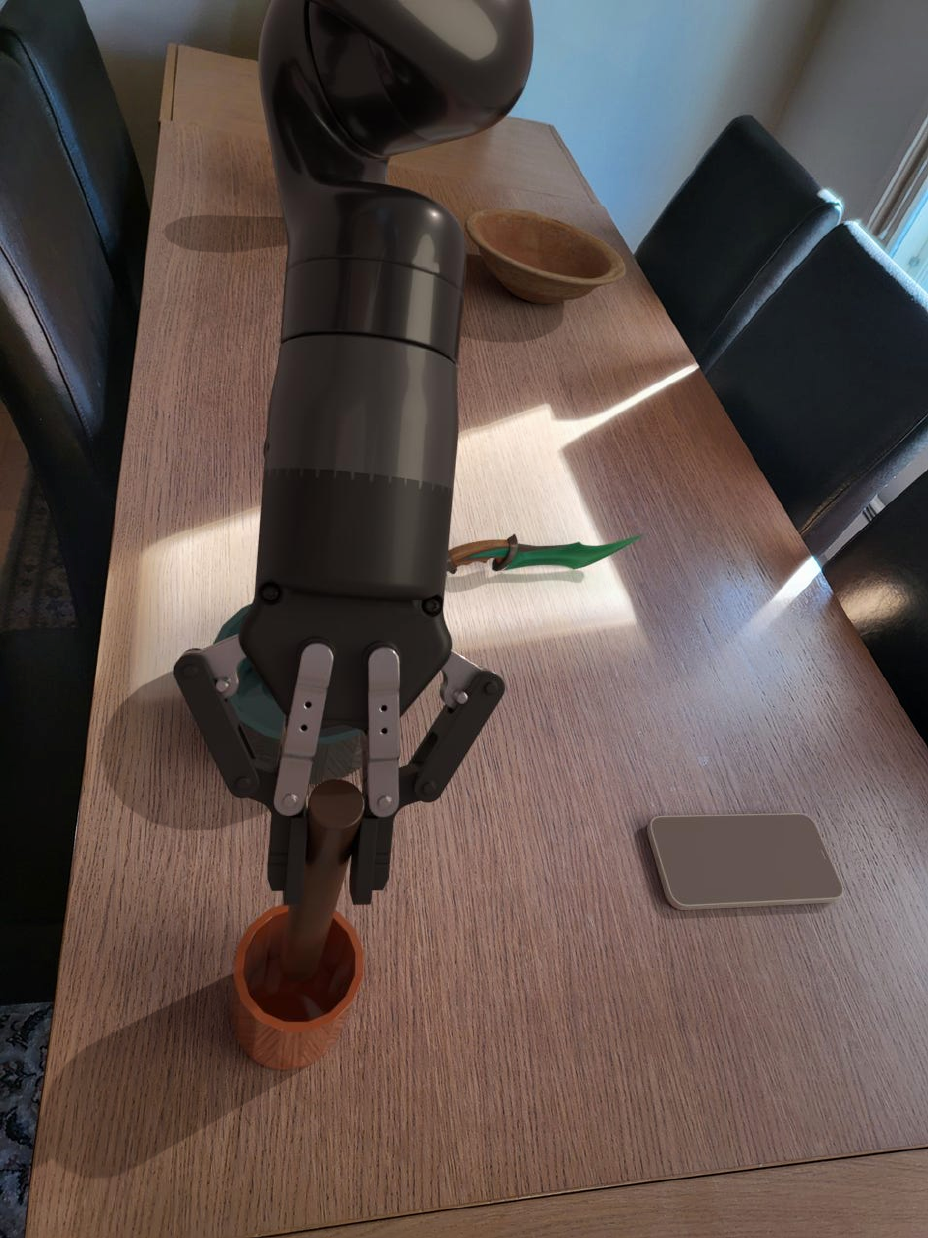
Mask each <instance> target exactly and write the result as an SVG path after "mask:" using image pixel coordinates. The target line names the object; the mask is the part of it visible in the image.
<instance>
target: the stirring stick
mask: <svg viewBox="0 0 928 1238" xmlns="http://www.w3.org/2000/svg"><path fill="white" fill-rule="evenodd" d="M364 809H365V802H364V798H363V795H362V791H361V790H360V789H359V788H358V787H357V786H356V785H355V784H354V783H352V782H350V781H348V780H345V779H341V778H335V779H331V780H327V781H324V782H322V783H321V782H320V783H318V784H317V785H316V786H315V787H314V788H313V790H312V791H311V792H310V795H309V796H308V802H307V812H306V815H307V817H308V830H307V843H306V855H305V868H304V880H303V893H302V903H301V905H297V906H289V907H288V913H287V918H286V923H285V929H284V934H283V939H282V945H281V950H280V955H279V961H278V965H279V970H280V972H281V974H282V975H283V976H284V977H285V978H286V979H287V980H289V981H291V982H296V983H299V982H304V981H307V980H309V979H310V978H311V977H312V976H313V975H314V974H315V973H316V971H317V969H318V966H319V963H320V959H321V956H322V952H323V949H324V946H325V942H326V939H327V935H328V932H329V929H330V925H331V922H332V918H333V915H334V912H335V910H336V907H337V904H338V902H339V898H340V894H341V891H342V887H343V885H344V881H345V877H346V874H347V870H348V867H349V864H350V861H351V854H352V850H353V847H354V843H355V840H356V837H357V833H358V830H359V826H360V823H361V820H362V816H363V813H364Z"/></svg>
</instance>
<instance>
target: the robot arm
mask: <svg viewBox="0 0 928 1238" xmlns="http://www.w3.org/2000/svg"><path fill="white" fill-rule="evenodd" d="M534 27H535V26H534V19H533V12H532V5H531V1H530V0H271V1H270V3H269V6H268V8H267V11H266V15H265V18H264V20H263V24H262V28H261V33H260V37H259V46H258V55H257V56H258V57H257V59H258V65H257V66H258V80H259V81H258V82H259V90H260V96H261V103H262V107H263V108H262V109H263V112H264V113H263V114H264V118H265V124H266V131H267V135H268V140H269V141H268V142H269V147H270V152H271V157H272V164H273V170H274V176H275V177H274V178H275V183H276V189H277V195H278V199H279V204H280V207H281V212H282V219H283V224H284V228H285V235H286V242H287V243H286V244H287V251H286V252H287V253H286V260H285V272H284V283H283V284H284V285H283V297H282V298H283V299H282V311H281V325H280V338H279V344H280V346H279V347H278V355H277V357H278V358H277V363H276V369H275V374H274V379H273V382H272V386H271V391H270V396H269V402H268V410H267V417H266V419H267V420H266V432H265V433H266V434H265V439H264V442H263V449H262V452H263V453H262V455H263V459H264V460H263V473H262V475H263V476H262V486H261V500H260V501H261V502H260V514H259V528H258V541H257V555H256V566H255V567H256V569H255V582H254V597H253V599H252V602H251V603H252V605H251V607H250V609H249V610H248V612H247V613H246V615H245V616H244V617H243V619H242V621H241V624H240V627H239V632H238V634H237V635H234V636H232V637H230V638H227V639H225V640H223V641H220V642H218V643H216V644H213V643H212V644H211V645H209V646H207V647H204V648H198V647H192V648H188V649H186V650H185V651H184V652H183V653H182V654H181V655H180V656H179V658H178V659H177V660H176V662H175V663H174V665H173V668H172V674H173V678H174V679H175V682H176V684H177V686H178V688H179V690H180V692H181V695H182V697H183V699H184V701H185V703H186V705H187V707H188V709H189V711H190V713H191V715H192V717H193V719H194V722H195V724H196V725H197V727H198V730H199V732H200V734H201V736H202V738H203V740H204V743H205V744H206V746H207V748H208V750H209V752H210V755H211V757H212V759H213V761H214V763H215V765H216V767H217V769H218V771H219V774H220V776H221V778H222V779H223V781H224V784H225V785H226V788H227V790H228V792H229V793H230V795H232V796H233V797H235V798H237V799H250V800H253V801H255V802H258V803H260V804H262V805H264V806H265V807H266V808H267V809H268V811H269V812H270V825H269V836H268V837H269V839H268V849H267V851H268V852H267V865H266V875H267V876H266V877H267V879H266V880H267V882H268V885H269V888H270V891H271V892H282V904H283V906H297V905H301V903H302V893H303V880H304V868H305V855H306V843H307V830H308V817H307V815H306V812H307V807H308V805H307V802H306V801H307V795H308V790H309V789H308V788H309V784H310V783H309V779H310V773H311V768H312V763H313V760H314V757H315V753H316V748H317V743H318V737H319V732H320V729H325V728H329V727H334V726H338V725H347V726H350V727H353V728H356V729H360V744H361V758H362V766H361V793H362V795H363V798H364V802H365V809H364V813H363V816H362V820H361V823H360V826H359V830H358V833H357V837H356V840H355V843H354V847H353V850H352V854H351V857H350V863H349V864H350V866H349V876H348V877H349V879H348V889H349V894H350V898H351V902H352V905H353V906H371V904H372V899H373V891H384V889H385V887H386V886H387V883H388V881H389V879H390V871H391V870H390V869H391V858H392V845H393V835H394V825H395V823H394V822H395V818H396V816H397V814H398V813H399V811H400V810H401V809H403V808H404V807H406V806H408V805H413V804H415V803H417V802H423V803H425V804H426V803H427V804H428V803H429V804H430V803H433V802H436V801H437V800H438V799H440V798H441V796H442V795H443V793H444V792H445V790H446V788H447V787H448V785H449V783H450V782H451V780H452V778H453V777H454V775H456V772H457V770H458V769H459V767H460V766H461V764H462V763H463V760H465V757H466V756H467V754H468V752H469V751H470V750H471V748H472V746H473V745H474V743H475V742H476V740H477V738H478V736H479V735H480V733H481V732H482V730H483V729H484V727H485V725H486V724H487V723H488V721H489V719H490V717H491V716H492V714H493V712H494V711H495V709H496V708H497V706H498V704H499V703H500V701H501V700H502V699H503V697H504V694H505V692H506V683H505V681H504V679H503V678H502V677H501V676H500V675H499V674H497V673H496V672H494V671H493V670H491V669H489V668H487V667H483V666H481V665H477V664H475V663H474V662H472V661H470V660H469V659H468V658H466V657H464V656H462V655H461V654H460V653H458V652H456V651H455V650H453V638H452V635H451V632H450V629H449V628H448V625H447V622H446V619H445V612H444V604H445V594H446V583H447V582H446V581H447V573H448V571H447V560H448V550H450V549H449V547H450V535H451V527H452V526H451V525H452V523H451V522H452V516H453V515H452V513H453V501H454V490H455V481H456V467H457V457H458V456H457V454H458V445H459V431H460V430H459V428H460V417H459V415H460V414H459V397H458V396H459V395H458V377H459V376H458V375H459V374H458V372H459V371H458V370H459V369H458V367H459V358H460V346H461V337H462V336H461V334H462V324H463V314H464V313H463V312H464V299H465V290H466V289H465V288H466V278H467V245H466V239H465V235H464V231H463V228H462V226H461V224H460V222H459V220H458V219H457V217H456V216H455V215H454V214H453V213H452V212H451V211H450V209H449V208H447V207H446V206H445V205H444V204H442V203H441V202H439V201H437V199H434V198H433V197H431V196H429V195H427V194H424V193H421V192H419V191H416V190H413V189H411V188H407V187H402V186H397V185H392V184H387V175H388V168H389V163H390V160H391V158H392V157H394V156H397V155H398V156H399V155H402V154H405V153H410V152H414V151H418V150H421V149H426V148H429V147H433V146H438V145H442V144H446V143H451V142H453V141H458V140H462V139H463V140H464V139H467V138H470V137H472V136H475V135H478V134H481V133H483V132H485V131H487V130H489V129H491V128H493V127H495V126H496V125H497V124H498V123H500V122H501V121H503V120H504V119H505V118H506V117H507V116H508V115H509V114H510V113H511V112H512V111H513V109H514V108H515V107H516V105H517V103H518V101H519V100H520V98H521V97H522V95H523V93H524V91H525V89H526V86H527V84H528V79H529V76H530V73H531V70H532V65H533V58H534V47H535V46H534V43H535V42H534V41H535V29H534ZM245 658H247V659H248V660H249V662H250V663H251V665H252V666H253V668H254V669H255V671H256V672H257V674H258V675H259V677H260V679H261V680H262V682H263V683H264V685H265V686H266V688H267V689H268V691H269V692H270V694H271V695H272V697H273V699H274V700H275V702H276V703H277V705H278V706H279V708H280V709H281V711H282V712H283V713H284V714H285V717H284V722H283V728H282V734H281V742H280V748H279V754H278V759H277V765H276V767H275V766H273V765H270V764H268V763H265V762H262V761H260V760H258V759H257V757H256V755H255V753H254V750H253V748H252V746H251V744H250V742H249V740H248V738H247V736H246V733H245V731H244V729H243V727H242V725H241V723H240V721H239V719H238V716H237V714H236V712H235V710H234V708H233V706H232V704H231V702H230V699H229V697H231V696H232V695H233V694H234V693H235V692H236V691H237V689H238V686H239V675H238V665H239V664H240V662H241V661H242V660H243V659H245ZM440 671H441V674H442V683H441V685H440V686H439V697H440V699H441V701H442V702H443V703H444V705H443V707H442V708H441V710H440V712H439V714H438V715H437V717H436V718H435V719H434V721H433V723H432V725H431V726H430V727H429V730H428V731H427V733H426V734H425V736H424V737H423V739H422V740H421V742H420V744H419V745H418V747H417V749H416V750H415V752H414V753H413V755H412V757H411V758H410V760H409V761H408V763H407V764H405V765H402V766H399V760H400V757H401V727H400V726H401V724H400V721H401V720H400V719H401V718H402V717H403V716H404V715H405V714H406V712H407V711H408V710H409V709H410V708H411V706H413V704H414V703H415V702H416V701H417V699H418V698H419V697H420V695H422V693H423V692H424V691H425V689H426V688H427V687H428V686H429V685H430V684H431V683H432V681H433V680H434V679H435V678H436V676H437V675H438V674H439V673H440Z"/></svg>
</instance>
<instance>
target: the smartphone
mask: <svg viewBox="0 0 928 1238" xmlns="http://www.w3.org/2000/svg"><path fill="white" fill-rule="evenodd" d="M646 834H647V837H648V840H649V841H648V842H649V844H650V848H651V852H652V855H653V858H654V862H655V865H656V868H657V871H658V875H659V878H660V882H661V885H662V888H663V889H662V890H663V891H664V895H665V898H666V900H667V901H668V903H669V904H670V905H671V906H672V907H673V908H675V909H677V910H679V911H693V910H712V909H713V910H714V909H729V908H730V909H732V908H733V909H734V908H755V907H774V906H792V905H812V904H828V903H834V902H836V901H838V900H839V899H841V897H842V896H843V894H844V885H843V882H842V881H841V879H840V878H841V877H840V876H839V874H838V871H837V869H836V866H835V864H834V862H833V860H832V857H831V855H830V853H829V851H828V849H827V846H826V844H825V842H824V840H823V836H822V835H821V833H820V830H819V828H818V825H817V824H816V822H815V821H814V819H812V817H810V816H809V815H807V814H805V813H802V812H789V813H788V812H787V813H785V812H784V813H742V814H741V813H739V814H737V813H735V814H733V813H732V814H731V813H730V814H698V815H697V814H689V815H688V814H685V815H684V814H683V815H681V814H680V815H658V816H655V817H653V818H652V819H651V821H650V822H649V823H648V825H647V826H646Z"/></svg>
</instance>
